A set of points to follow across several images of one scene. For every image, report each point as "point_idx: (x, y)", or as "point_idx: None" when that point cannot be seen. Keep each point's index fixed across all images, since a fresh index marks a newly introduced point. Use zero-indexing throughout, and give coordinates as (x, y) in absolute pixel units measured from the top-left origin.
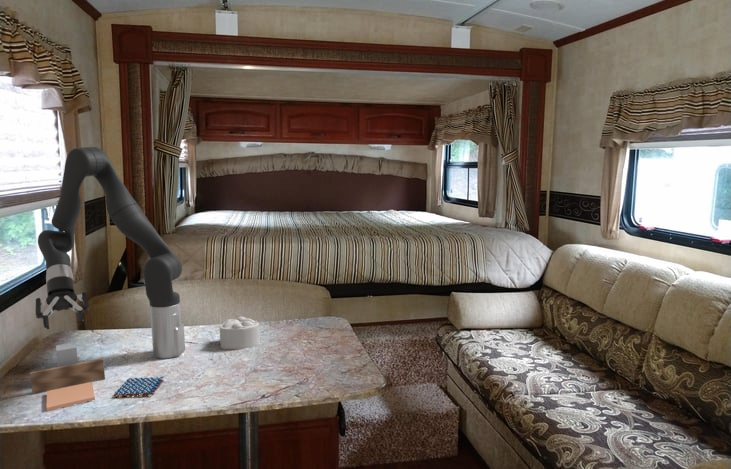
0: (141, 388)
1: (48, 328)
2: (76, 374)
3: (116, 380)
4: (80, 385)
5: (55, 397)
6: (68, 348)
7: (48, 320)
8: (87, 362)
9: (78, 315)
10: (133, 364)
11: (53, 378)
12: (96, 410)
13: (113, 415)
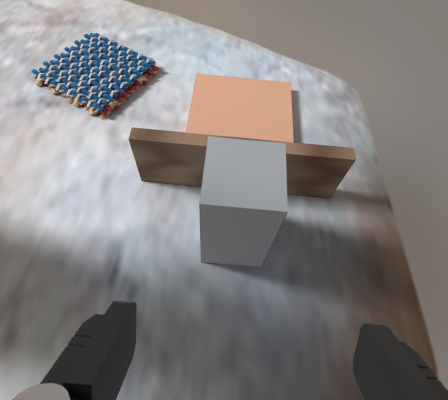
0: (100, 53)
1: (360, 353)
2: None
3: (122, 146)
4: None
5: (273, 114)
6: (238, 143)
7: (391, 358)
8: (182, 134)
9: (108, 341)
10: (27, 230)
11: None
12: (202, 48)
13: (181, 22)
